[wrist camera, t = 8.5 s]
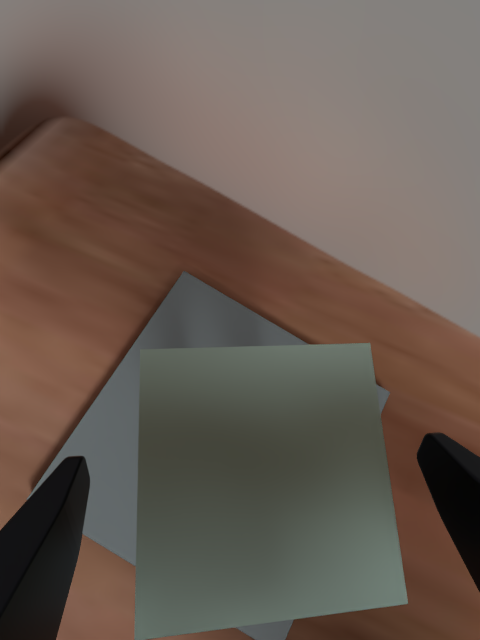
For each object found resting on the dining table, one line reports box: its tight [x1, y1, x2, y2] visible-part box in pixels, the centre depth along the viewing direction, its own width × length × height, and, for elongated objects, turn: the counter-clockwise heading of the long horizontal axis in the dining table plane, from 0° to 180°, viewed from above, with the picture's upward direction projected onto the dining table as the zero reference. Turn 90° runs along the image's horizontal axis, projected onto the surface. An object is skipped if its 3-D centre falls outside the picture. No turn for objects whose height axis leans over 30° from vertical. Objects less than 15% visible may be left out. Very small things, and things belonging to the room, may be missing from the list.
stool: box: [135, 343, 408, 640], centre depth 14 cm, size 6×6×11 cm
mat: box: [27, 271, 390, 640], centre depth 19 cm, size 14×14×1 cm
